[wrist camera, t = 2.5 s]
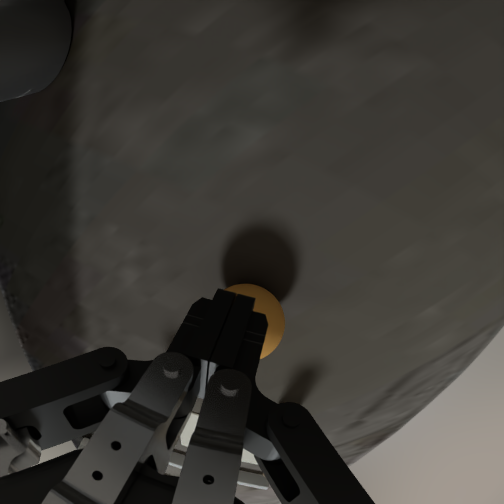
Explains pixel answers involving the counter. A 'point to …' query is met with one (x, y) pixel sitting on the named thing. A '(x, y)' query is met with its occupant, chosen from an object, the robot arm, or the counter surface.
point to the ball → (267, 306)
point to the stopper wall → (243, 477)
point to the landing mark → (191, 428)
